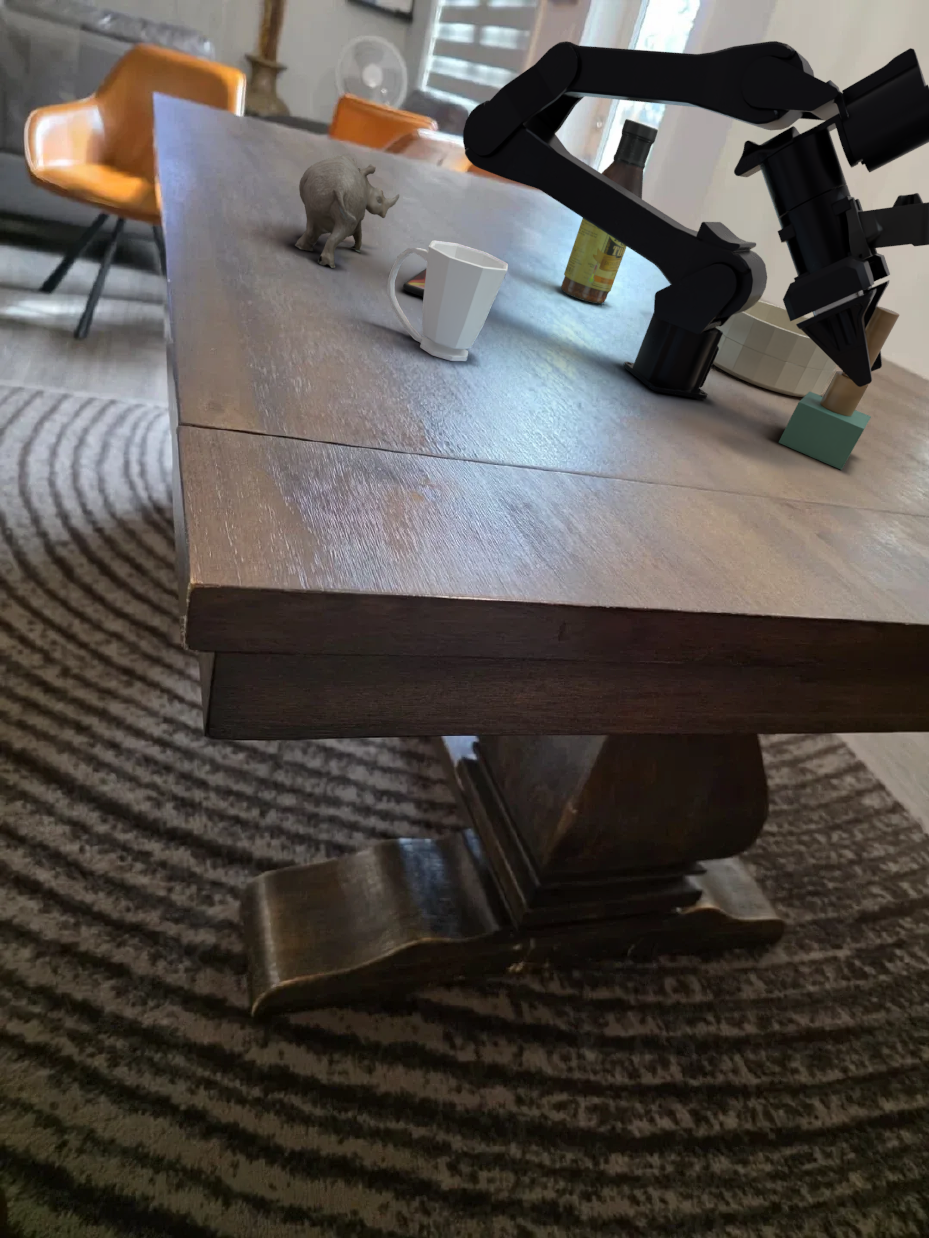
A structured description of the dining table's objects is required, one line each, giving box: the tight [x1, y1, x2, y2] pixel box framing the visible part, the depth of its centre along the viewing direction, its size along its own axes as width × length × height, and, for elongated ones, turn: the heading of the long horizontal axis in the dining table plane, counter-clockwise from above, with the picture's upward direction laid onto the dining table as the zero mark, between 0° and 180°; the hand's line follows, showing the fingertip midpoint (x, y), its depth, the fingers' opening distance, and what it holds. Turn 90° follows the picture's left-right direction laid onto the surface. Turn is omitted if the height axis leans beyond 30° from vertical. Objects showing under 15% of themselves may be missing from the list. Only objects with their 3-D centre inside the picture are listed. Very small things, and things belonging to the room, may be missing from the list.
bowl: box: [712, 299, 839, 398], centre depth 99 cm, size 15×15×6 cm
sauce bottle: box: [560, 118, 659, 305], centre depth 104 cm, size 6×6×20 cm
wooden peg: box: [820, 305, 900, 416], centre depth 75 cm, size 3×3×9 cm
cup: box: [386, 239, 509, 362], centre depth 72 cm, size 7×10×8 cm
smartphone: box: [402, 268, 426, 298], centre depth 92 cm, size 8×1×15 cm
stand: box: [778, 392, 872, 471], centre depth 79 cm, size 6×6×4 cm
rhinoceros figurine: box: [294, 154, 401, 269], centre depth 90 cm, size 8×14×15 cm
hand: (871, 377), depth 76 cm, fingers open, 9 cm apart
